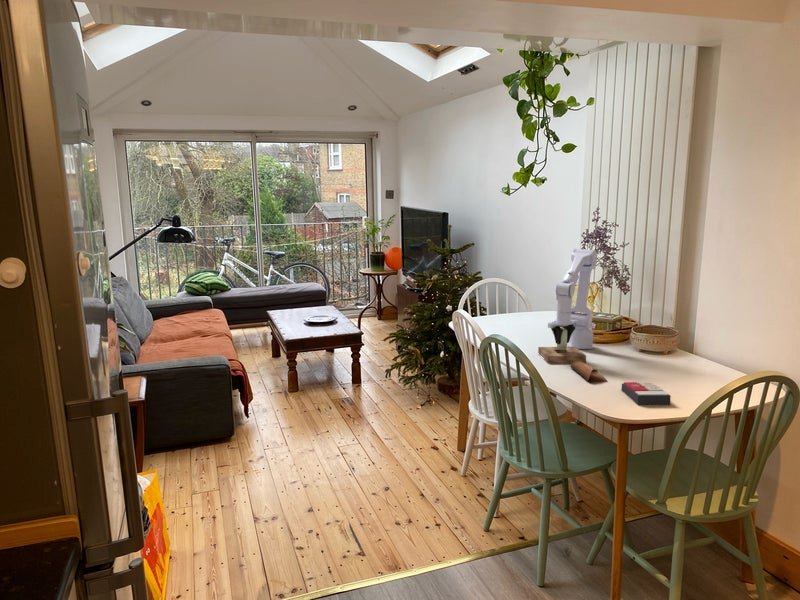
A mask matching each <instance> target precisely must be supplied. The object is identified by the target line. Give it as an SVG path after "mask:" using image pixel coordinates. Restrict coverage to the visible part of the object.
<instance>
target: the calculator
mask: <svg viewBox="0 0 800 600" xmlns="http://www.w3.org/2000/svg"><path fill="white" fill-rule="evenodd" d="M621 392H622V393H624V394H625V396H627V397H628V398H630V399H631V400H632V402H633V403H635V404H636V405H637V406H671V394H670V393H668V392H666V391H664V389H663V388H661V387H660V386H657V384H655V383H653V382H651V381H640V382H636V381H635V382H634V381H632V382H631V381H630V382H629V381H628V382H626V381H624V382H623V383H621Z"/></svg>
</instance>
